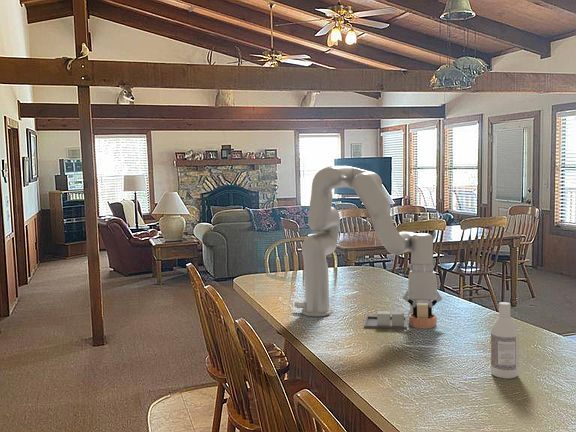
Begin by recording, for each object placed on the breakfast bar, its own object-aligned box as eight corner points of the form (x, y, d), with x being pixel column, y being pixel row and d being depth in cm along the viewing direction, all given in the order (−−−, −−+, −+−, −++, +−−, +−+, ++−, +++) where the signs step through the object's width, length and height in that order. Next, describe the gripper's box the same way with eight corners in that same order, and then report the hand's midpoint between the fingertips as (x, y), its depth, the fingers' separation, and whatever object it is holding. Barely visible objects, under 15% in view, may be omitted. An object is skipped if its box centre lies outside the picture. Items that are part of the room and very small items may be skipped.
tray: (364, 328, 199) (364, 325, 199) (366, 319, 212) (366, 316, 212) (407, 330, 196) (406, 326, 196) (406, 320, 209) (406, 317, 209)
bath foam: (496, 368, 158) (496, 299, 156) (521, 373, 153) (522, 302, 152) (487, 375, 153) (487, 304, 151) (512, 381, 148) (513, 307, 146)
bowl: (409, 328, 198) (409, 318, 198) (409, 321, 208) (408, 311, 207) (437, 329, 196) (437, 319, 196) (435, 322, 206) (435, 312, 205)
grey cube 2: (392, 327, 198) (391, 314, 198) (392, 324, 202) (392, 311, 202) (404, 328, 197) (403, 314, 197) (404, 325, 201) (403, 311, 201)
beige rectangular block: (417, 319, 200) (417, 306, 199) (416, 316, 204) (416, 303, 204) (428, 320, 199) (428, 306, 199) (427, 316, 203) (427, 303, 203)
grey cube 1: (377, 327, 199) (377, 313, 199) (377, 324, 203) (377, 311, 203) (390, 327, 198) (390, 314, 198) (390, 324, 202) (390, 311, 202)
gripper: (398, 269, 198) (398, 319, 200) (447, 269, 195) (447, 321, 196) (398, 265, 205) (399, 314, 207) (445, 266, 202) (445, 315, 204)
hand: (422, 317), depth 202 cm, fingers closed on beige rectangular block, 3 cm apart
